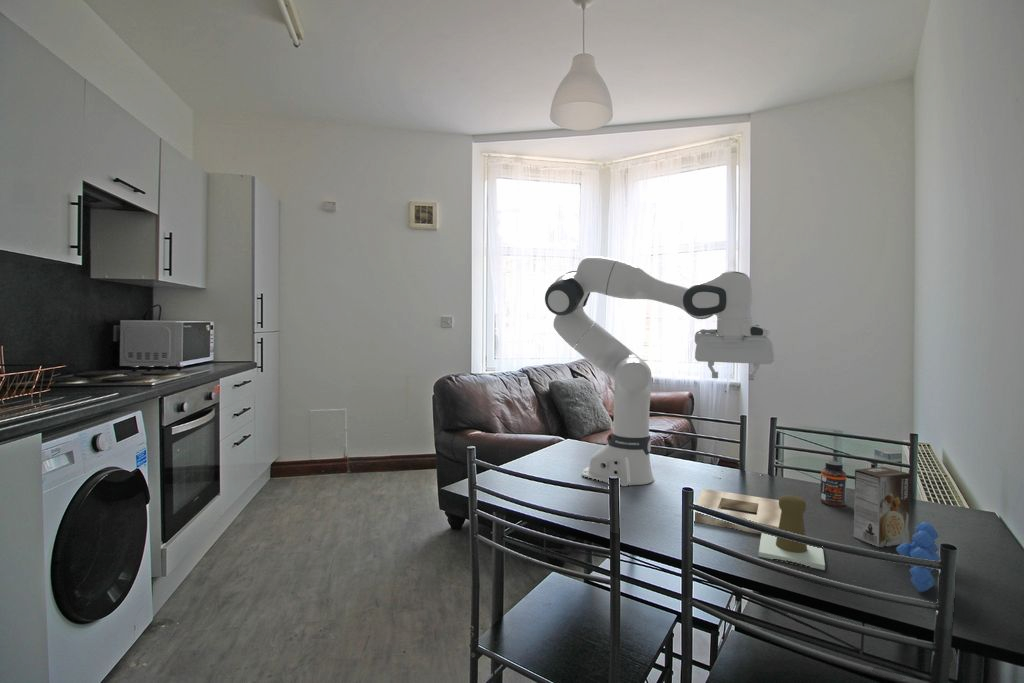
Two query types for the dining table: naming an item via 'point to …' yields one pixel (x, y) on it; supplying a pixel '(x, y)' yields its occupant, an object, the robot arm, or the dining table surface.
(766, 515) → the socket plate
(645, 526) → the dining table surface
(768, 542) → the pad
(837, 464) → the supplement bottle
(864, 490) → the cookie box
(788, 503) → the cork
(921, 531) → the grapes
